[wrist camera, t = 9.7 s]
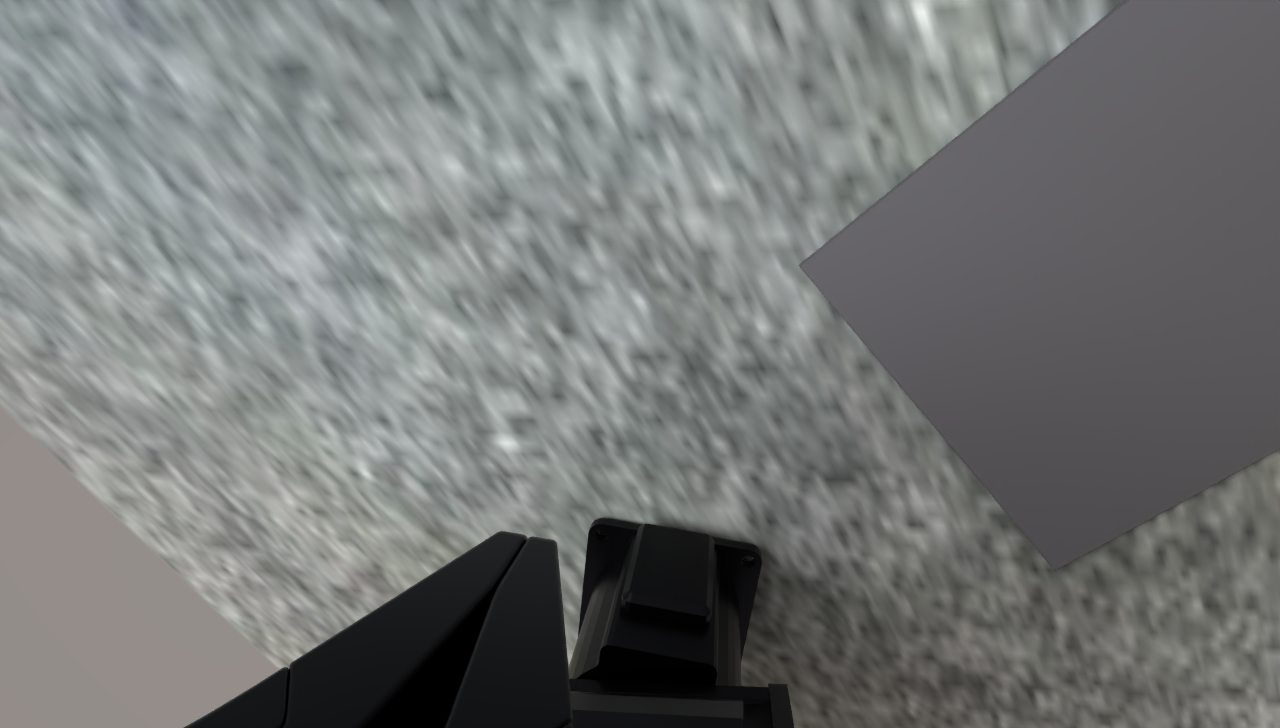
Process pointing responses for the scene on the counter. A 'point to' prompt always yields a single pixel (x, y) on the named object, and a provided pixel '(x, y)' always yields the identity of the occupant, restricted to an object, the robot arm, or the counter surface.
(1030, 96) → the mat
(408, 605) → the robot arm
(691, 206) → the counter surface
